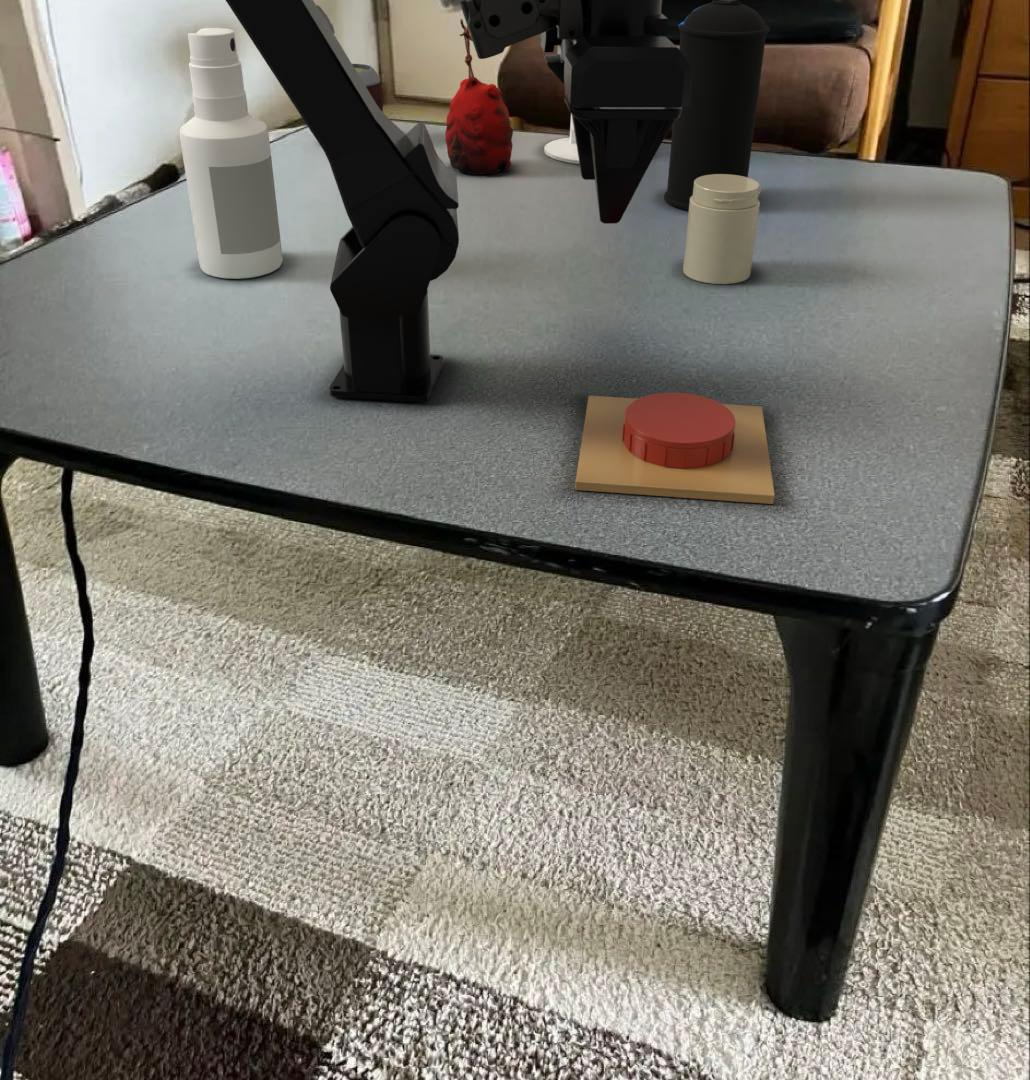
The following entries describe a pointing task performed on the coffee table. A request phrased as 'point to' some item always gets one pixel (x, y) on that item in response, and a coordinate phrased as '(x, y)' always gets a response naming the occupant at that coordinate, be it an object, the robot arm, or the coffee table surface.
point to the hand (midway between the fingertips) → (599, 199)
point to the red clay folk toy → (478, 125)
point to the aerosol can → (717, 96)
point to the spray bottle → (228, 166)
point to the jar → (721, 229)
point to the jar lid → (679, 430)
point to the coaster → (623, 472)
